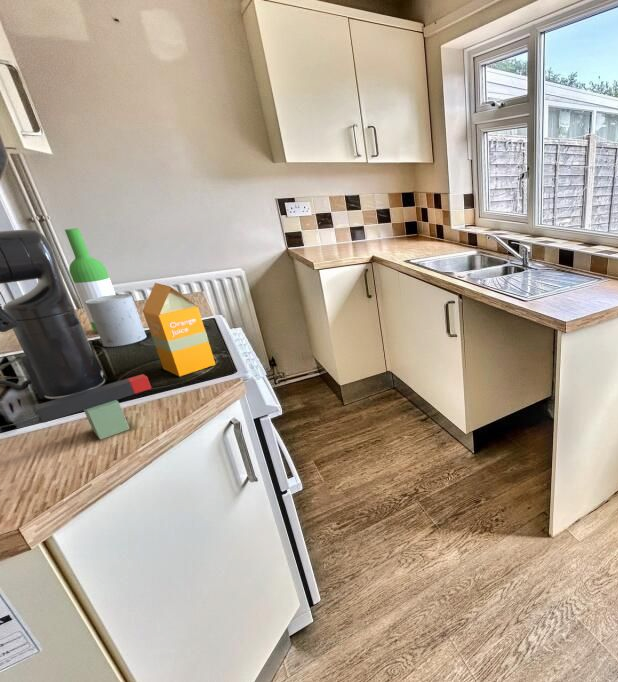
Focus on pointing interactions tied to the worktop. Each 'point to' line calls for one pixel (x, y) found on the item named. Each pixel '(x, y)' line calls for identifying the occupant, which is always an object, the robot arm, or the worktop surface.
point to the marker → (92, 398)
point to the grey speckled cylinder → (116, 320)
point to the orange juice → (177, 331)
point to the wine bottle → (87, 273)
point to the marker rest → (107, 419)
